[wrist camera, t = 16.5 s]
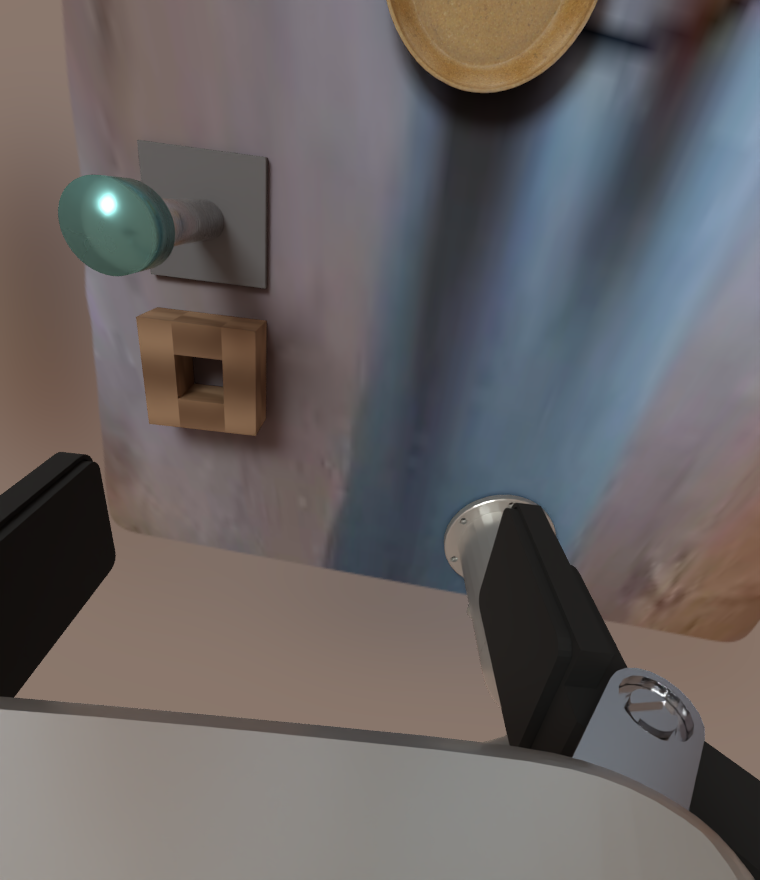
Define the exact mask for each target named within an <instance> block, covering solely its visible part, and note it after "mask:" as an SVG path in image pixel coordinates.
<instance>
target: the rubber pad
mask: <svg viewBox="0 0 760 880" xmlns="http://www.w3.org/2000/svg"><path fill="white" fill-rule="evenodd" d="M137 143H138V153H139V163H140V172H141V182H142V183H144V184H146V185H147V186H149V187H150V188H152V189H153V190H154V191H155V192H156V193H157V194H158V195H159V196H160V197H161V198H167V199H202V200H209V201H211V202H213V203H214V204H215V205H217V206H218V208H219V209H220V210H221V212H222V214H223V218H224V228H223V231H222V233H221V234H220V235H219V236H218V237H216V238H214V239H210V240H205V241H199V242H194V243H189V244H183V245H178V246H174V247H173V250H172V252H171V254H170V256H169V257H168V258H167V259H166V261H164V262H163V263H162V264H161V265H159V266H157V267H155V268H151V274H154V275H162V276H170V277H178V278H186V279H194V280H202V281H210V282H218V283H226V284H234V285H242V286H250V287H258V288H267V172H268V158H266V157H260V156H253V155H246V154H238V153H231V152H223V151H216V150H209V149H201V148H194V147H187V146H179V145H172V144H165V143H157V142H150V141H142V140H137Z"/></svg>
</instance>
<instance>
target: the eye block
mask: <svg viewBox="0 0 760 880" xmlns="http://www.w3.org/2000/svg"><path fill="white" fill-rule="evenodd" d="M136 319H137V327H138V336H139V344H140V352H141V360H142V369H143V377H144V385H145V393H146V401H147V410H148V418H149V424H156V425H165V426H174V427H183V428H191V429H200V430H209V431H218V432H226V433H235V434H244V435H253V436H256V435H257V433H258V431H259V430H260V428H261V426H262V424H263V423H264V421H265V419H266V334H267V321H264V320H256V319H248V318H240V317H232V316H224V315H216V314H208V313H200V312H191V311H183V310H175V309H167V308H159V307H157V308H155V309H153V310H150V311H148V312H146V313H144V314H142V315H139V316H137V317H136ZM193 357H200V358H208V359H217V360H222V365H223V387H219V386H211V385H202V384H194V371H193Z"/></svg>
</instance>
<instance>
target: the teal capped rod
mask: <svg viewBox="0 0 760 880" xmlns="http://www.w3.org/2000/svg"><path fill="white" fill-rule="evenodd" d="M58 217H59V224H60V228H61V231H62V234H63V236H64V238H65V240H66V242H67V244H68V245H69V247H70V248H71V250H72V251H73V252H74V254H75V255H76V256H77V257H78V258H79V259H80V260H81V261H82V262H83V263H85V264H86V265H87V266H89V267H90V268H92V269H94V270H96V271H98V272H100V273H103V274H106V275H111V276H124V275H128V274H132V273H136V272H140V271H144V270H148V269H151V268H155V267H157V266H159V265H161V264H162V263H163V262H164V261H166V259H167V258H168V257H169V256H170V254H171V252H172V250H173V247H174V246H178V245H183V244H189V243H194V242H199V241H205V240H210V239H214V238H216V237H218V236H219V235H220V234H221V233H222V231H223V228H224V218H223V214H222V212H221V210H220V209H219V208H218V206H217V205H215V204H214V203H213V202H211V201H209V200H202V199H167V198H161V197H160V196H159V195H158V194H157V193H156V192H155V191H154V190H153V189H152V188H150V187H149V186H147V185H146V184H144V183H142V182H140V181H137V180H134V179H130V178H122V177H112V176H102V175H85V176H82V177H79V178H77V179H75V180H73V181H72V182H71V183H70V184H69V185H68V186H67V187H66V188H65V189H64V191H63V193H62V195H61V198H60V201H59V207H58Z"/></svg>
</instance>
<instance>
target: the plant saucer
mask: <svg viewBox="0 0 760 880" xmlns="http://www.w3.org/2000/svg"><path fill="white" fill-rule="evenodd" d="M386 1H387V5H388V8H389V12H390V14H391V17H392V20H393V22H394V25H395V27H396V29H397V31H398V33H399V35H400V37H401V39H402V41H403V43H404V44H405V46H406V47H407V49H408V50H409V52H410V53H411V55H412V56H413V57H414V58H415V60H416V61H417V62H418V63H419V64H420V65H421V66H422V67H423V68H424V69H425V70H426V71H427V72H428V73H430V74H431V75H432V76H434V77H435V78H437V79H438V80H440V81H442V82H444V83H445V84H447V85H449V86H451V87H454V88H457V89H459V90H463V91H468V92H477V93H492V92H499V91H504V90H508V89H511V88H514V87H517V86H520V85H522V84H524V83H526V82H528V81H530V80H532V79H534V78H535V77H537V76H538V75H540V74H541V73H543V72H544V71H545V70H547V69H548V68H549V67H550V66H552V65H553V64H554V63H555V62H556V61H557V60H558V59H559V58H560V57H561V56H562V55H563V54H564V53H565V52H566V51H567V50H568V48H569V47H570V46H571V45H572V44H573V42H574V41H575V40H576V38H577V37H578V35H579V34H580V33H581V31H582V30H583V28H584V26H585V25H586V23H587V21H588V20H589V18H590V16H591V14H592V12H593V10H594V8H595V6H596V3H597V1H598V0H386Z"/></svg>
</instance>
